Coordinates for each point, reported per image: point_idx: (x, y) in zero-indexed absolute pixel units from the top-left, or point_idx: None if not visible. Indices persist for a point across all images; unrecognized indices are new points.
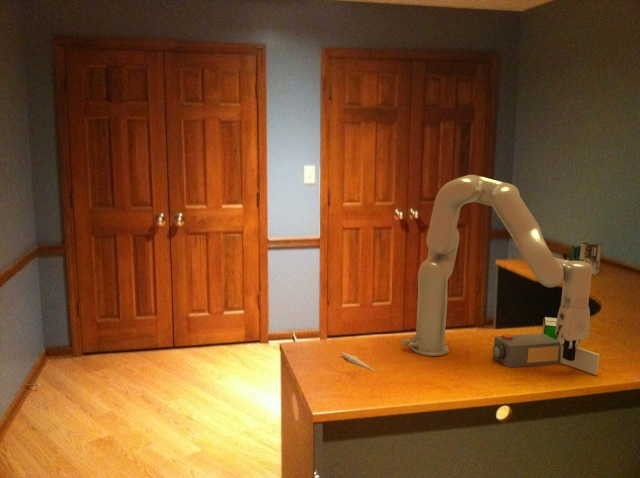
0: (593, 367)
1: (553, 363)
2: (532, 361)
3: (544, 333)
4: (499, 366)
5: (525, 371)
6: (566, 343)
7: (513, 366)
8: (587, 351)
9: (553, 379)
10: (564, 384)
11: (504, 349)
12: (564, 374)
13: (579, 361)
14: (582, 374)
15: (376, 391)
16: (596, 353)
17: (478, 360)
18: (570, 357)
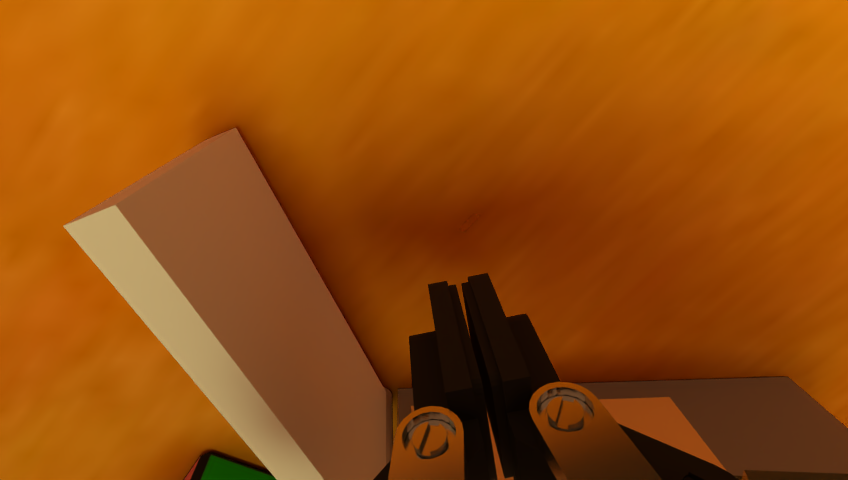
0: (230, 175)
1: None
2: (633, 404)
3: None
4: (818, 397)
5: (742, 312)
6: (714, 473)
7: (758, 381)
8: (219, 353)
9: (683, 144)
10: (690, 19)
11: None
12: (508, 214)
13: (306, 313)
14: (348, 182)
15: None
16: (106, 268)
17: None
18: (498, 302)
